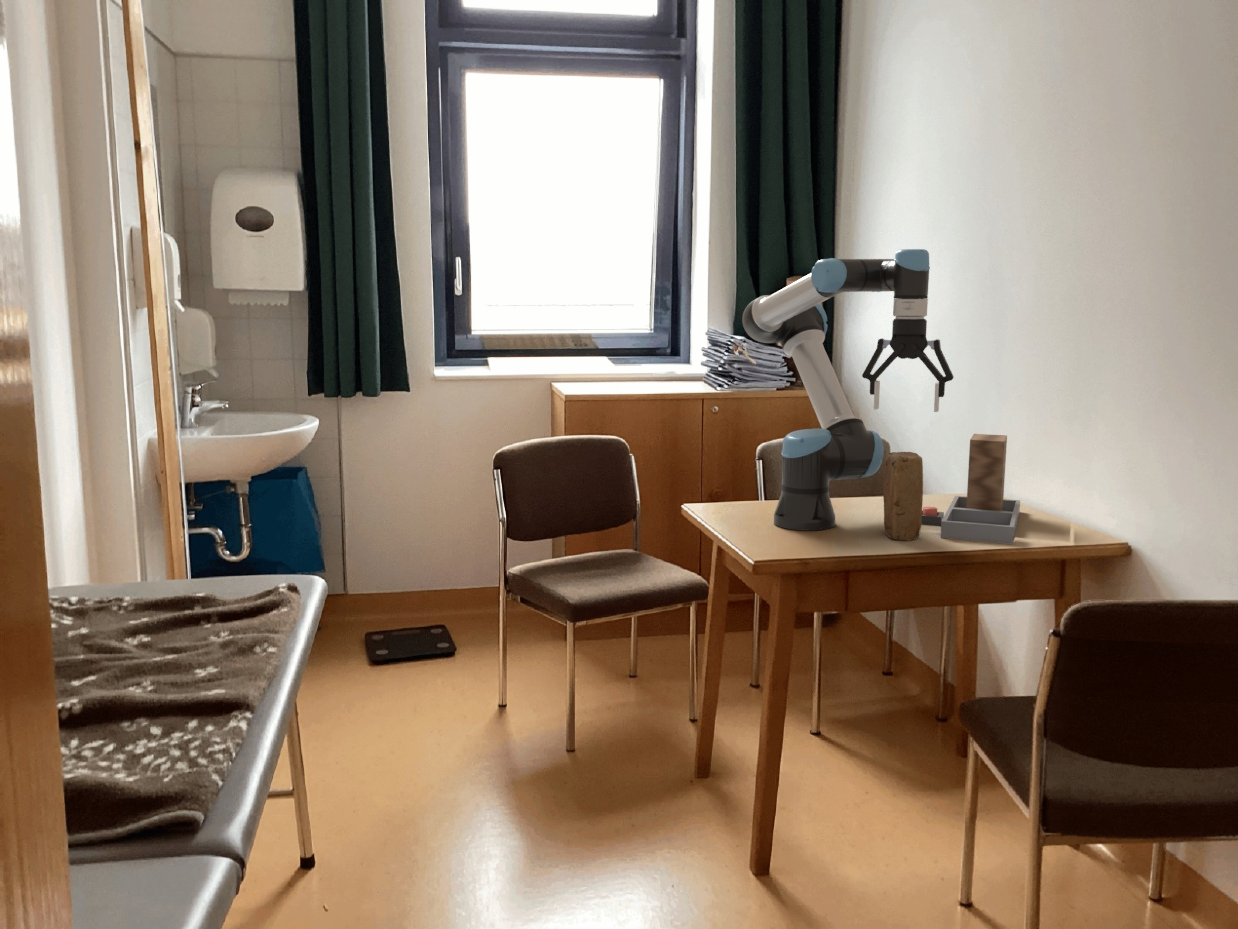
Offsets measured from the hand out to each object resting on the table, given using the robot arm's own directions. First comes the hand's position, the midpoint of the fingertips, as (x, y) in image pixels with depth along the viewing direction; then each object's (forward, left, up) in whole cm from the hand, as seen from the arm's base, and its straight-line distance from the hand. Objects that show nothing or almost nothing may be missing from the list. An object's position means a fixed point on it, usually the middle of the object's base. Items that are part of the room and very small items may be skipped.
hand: (905, 410), depth 243 cm
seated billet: (+17, +26, -29) cm, 43 cm away
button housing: (+5, +14, -30) cm, 34 cm away
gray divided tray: (+17, +18, -30) cm, 39 cm away
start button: (+5, +14, -29) cm, 33 cm away
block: (0, 0, -30) cm, 30 cm away
